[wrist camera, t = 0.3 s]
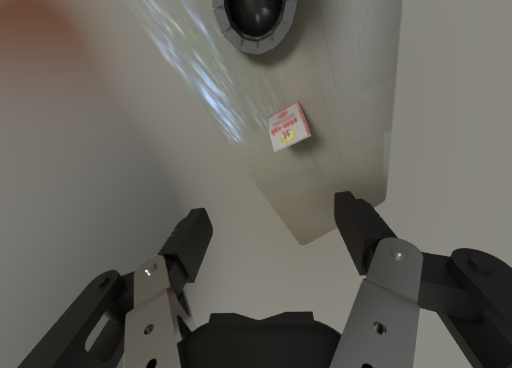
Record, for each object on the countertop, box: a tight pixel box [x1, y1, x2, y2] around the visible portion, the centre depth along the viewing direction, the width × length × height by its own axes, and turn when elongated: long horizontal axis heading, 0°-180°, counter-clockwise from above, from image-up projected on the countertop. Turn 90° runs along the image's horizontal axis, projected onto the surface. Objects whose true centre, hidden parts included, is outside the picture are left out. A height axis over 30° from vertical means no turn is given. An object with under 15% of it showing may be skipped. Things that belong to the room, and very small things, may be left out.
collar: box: [212, 0, 298, 55], centre depth 25 cm, size 11×11×3 cm
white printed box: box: [268, 101, 311, 152], centre depth 35 cm, size 4×7×10 cm, turn 121°
